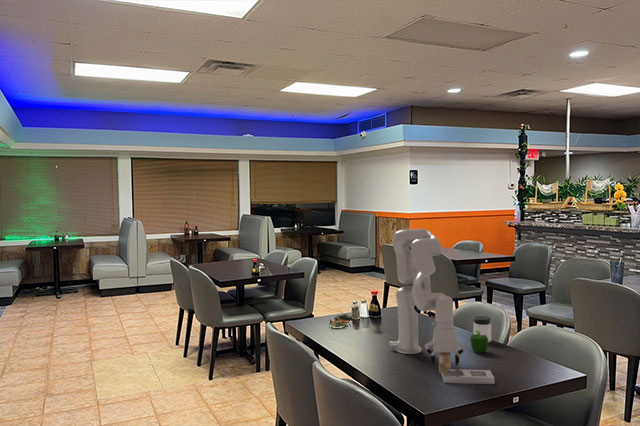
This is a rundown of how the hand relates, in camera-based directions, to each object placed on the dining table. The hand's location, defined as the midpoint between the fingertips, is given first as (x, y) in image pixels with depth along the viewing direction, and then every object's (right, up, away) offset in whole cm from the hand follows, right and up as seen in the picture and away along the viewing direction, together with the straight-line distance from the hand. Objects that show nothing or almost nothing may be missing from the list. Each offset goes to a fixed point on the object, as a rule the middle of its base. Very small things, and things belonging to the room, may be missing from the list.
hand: (445, 364), depth 218 cm
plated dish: (-40, -2, +85) cm, 93 cm away
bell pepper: (+23, -2, +27) cm, 36 cm away
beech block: (0, -3, 0) cm, 3 cm away
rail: (+7, -3, -9) cm, 12 cm away
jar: (+31, -1, +45) cm, 54 cm away
